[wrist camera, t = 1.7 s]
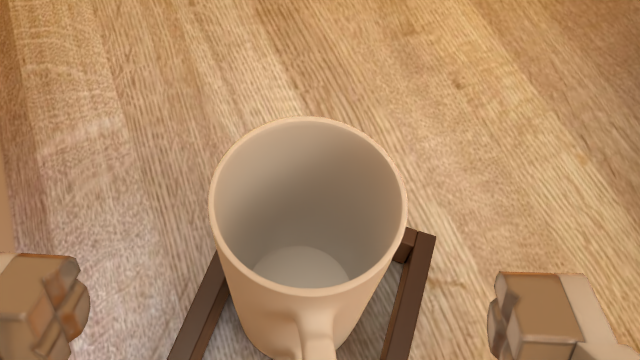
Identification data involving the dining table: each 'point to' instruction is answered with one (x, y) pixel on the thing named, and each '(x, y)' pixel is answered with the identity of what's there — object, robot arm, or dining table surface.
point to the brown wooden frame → (401, 326)
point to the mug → (305, 231)
